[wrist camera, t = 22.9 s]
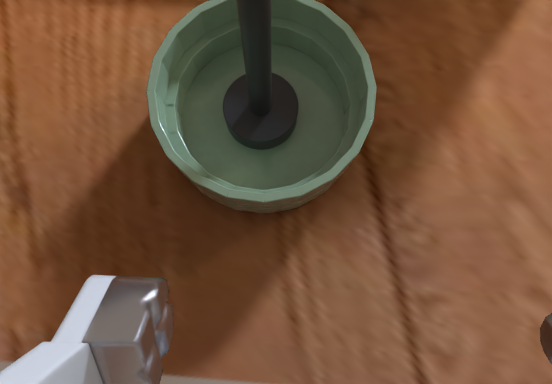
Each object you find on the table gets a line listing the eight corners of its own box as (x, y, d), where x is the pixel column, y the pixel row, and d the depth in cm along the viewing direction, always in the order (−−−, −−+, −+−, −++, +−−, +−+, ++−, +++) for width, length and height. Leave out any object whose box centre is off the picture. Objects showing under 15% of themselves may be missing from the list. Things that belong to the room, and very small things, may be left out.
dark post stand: (303, 143, 31) (334, 14, 16) (231, 155, 31) (191, 36, 16) (289, 77, 33) (307, -105, 17) (220, 88, 32) (172, -86, 17)
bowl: (377, 194, 31) (399, 178, 26) (181, 229, 31) (162, 220, 25) (336, 20, 34) (348, -27, 29) (157, 49, 34) (135, 6, 28)
